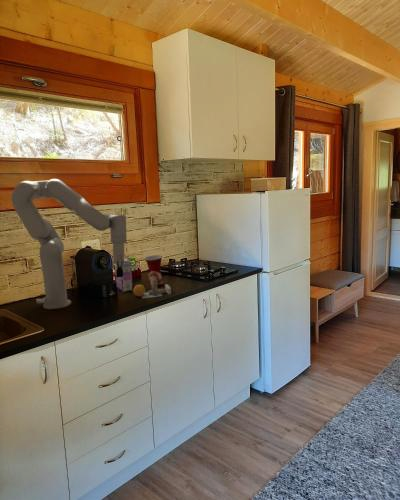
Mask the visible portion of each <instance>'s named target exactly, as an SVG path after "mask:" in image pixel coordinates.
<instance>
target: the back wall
mask: <svg viewBox="0 0 400 500" xmlns="http://www.w3.org/2000/svg"><path fill="white" fill-rule="evenodd" d="M164 289H165V290H166V294H167V295H172V288H171V287H170V285H169V284H166V283H165V284H164Z"/></svg>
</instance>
